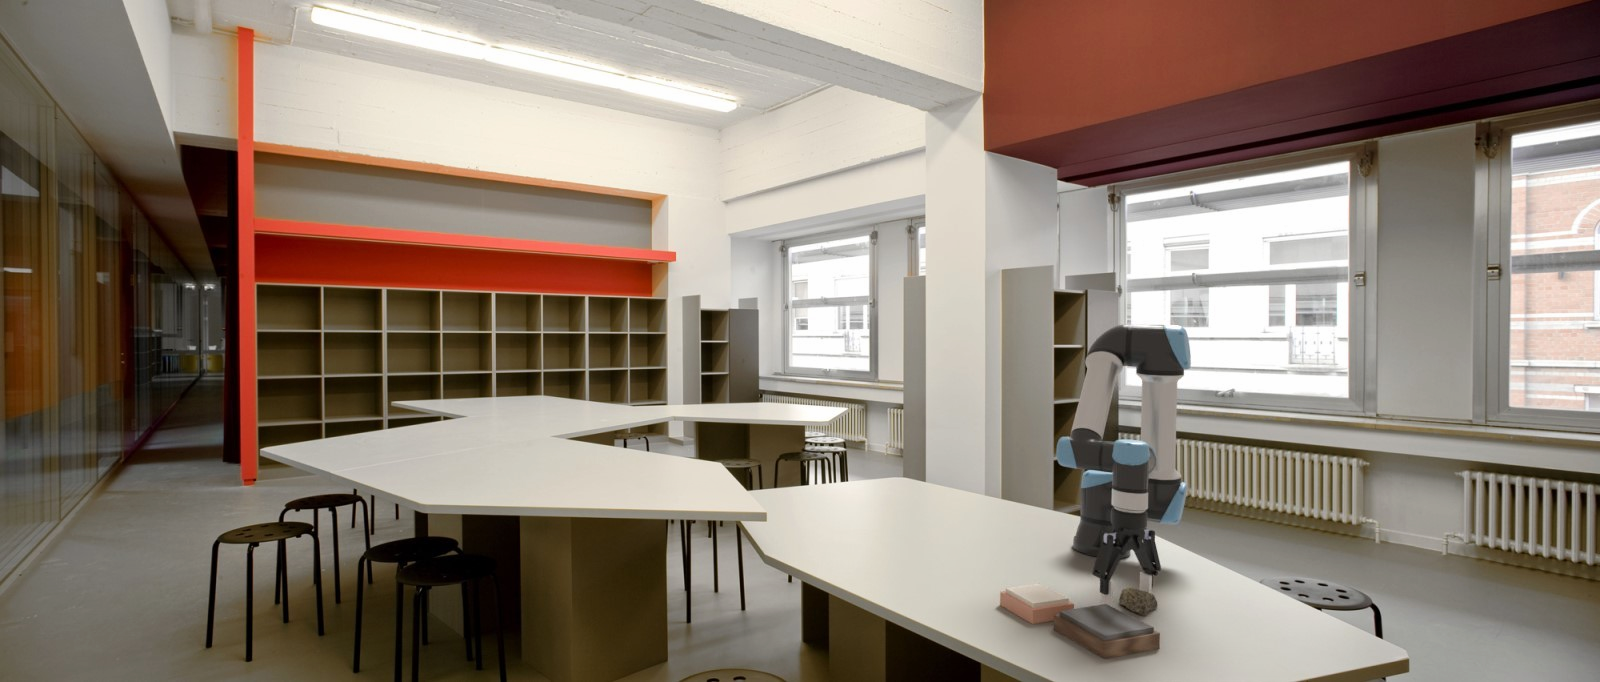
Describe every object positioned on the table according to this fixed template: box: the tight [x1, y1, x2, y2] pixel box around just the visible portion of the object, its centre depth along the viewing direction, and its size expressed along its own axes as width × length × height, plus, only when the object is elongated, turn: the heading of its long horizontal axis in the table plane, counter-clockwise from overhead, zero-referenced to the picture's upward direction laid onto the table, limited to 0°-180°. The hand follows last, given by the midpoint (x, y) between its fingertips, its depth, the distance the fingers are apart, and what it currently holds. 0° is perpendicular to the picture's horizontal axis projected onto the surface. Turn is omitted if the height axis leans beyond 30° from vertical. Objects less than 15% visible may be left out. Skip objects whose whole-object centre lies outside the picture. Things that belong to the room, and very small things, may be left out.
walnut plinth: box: [1053, 604, 1161, 660], centre depth 144 cm, size 14×14×4 cm
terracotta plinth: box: [999, 583, 1075, 625], centre depth 158 cm, size 11×11×4 cm
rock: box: [1118, 587, 1158, 617], centre depth 161 cm, size 7×8×4 cm
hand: (1126, 604), depth 162 cm, fingers open, 11 cm apart
